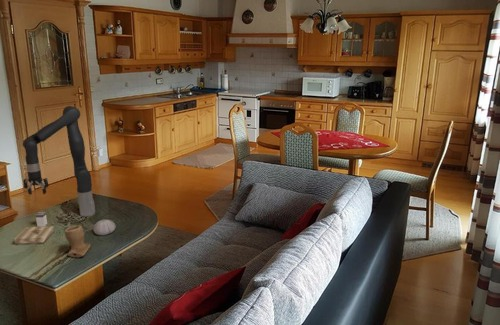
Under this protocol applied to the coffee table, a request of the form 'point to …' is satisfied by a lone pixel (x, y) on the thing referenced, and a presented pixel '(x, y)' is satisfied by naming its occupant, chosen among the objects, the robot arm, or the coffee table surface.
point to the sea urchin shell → (104, 227)
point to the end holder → (34, 235)
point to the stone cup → (76, 241)
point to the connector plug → (41, 219)
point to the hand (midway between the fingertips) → (37, 194)
